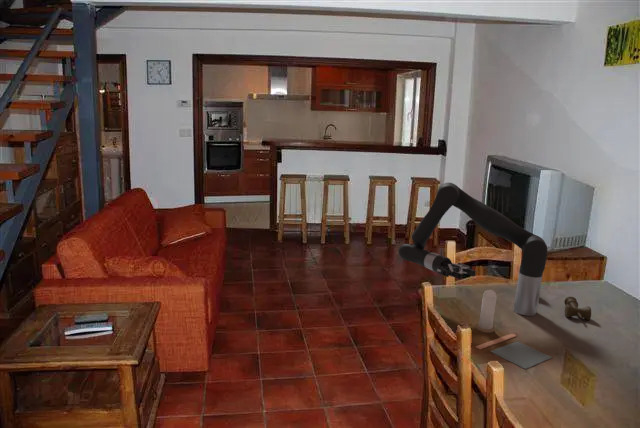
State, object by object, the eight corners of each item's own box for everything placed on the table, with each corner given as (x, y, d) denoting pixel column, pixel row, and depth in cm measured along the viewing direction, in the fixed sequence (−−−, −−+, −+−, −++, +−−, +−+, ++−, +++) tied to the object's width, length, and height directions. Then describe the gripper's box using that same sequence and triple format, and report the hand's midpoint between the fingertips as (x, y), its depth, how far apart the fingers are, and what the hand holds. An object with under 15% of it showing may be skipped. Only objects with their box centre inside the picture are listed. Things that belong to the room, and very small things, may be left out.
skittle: (483, 324, 209) (489, 285, 206) (496, 331, 204) (502, 291, 201) (473, 328, 206) (478, 288, 202) (486, 334, 201) (492, 294, 197)
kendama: (580, 309, 234) (593, 326, 215) (557, 306, 236) (568, 323, 217) (582, 296, 233) (595, 312, 214) (559, 293, 235) (569, 309, 216)
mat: (517, 341, 196) (517, 341, 196) (551, 358, 185) (551, 357, 185) (490, 351, 187) (490, 351, 187) (525, 369, 176) (525, 368, 176)
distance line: (511, 334, 202) (512, 333, 202) (516, 336, 201) (516, 335, 201) (475, 347, 190) (475, 346, 189) (480, 349, 188) (480, 348, 188)
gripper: (426, 256, 217) (457, 268, 205) (449, 252, 226) (480, 264, 213) (424, 274, 219) (455, 286, 206) (447, 269, 227) (478, 281, 215)
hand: (468, 275), depth 210 cm, fingers open, 8 cm apart
